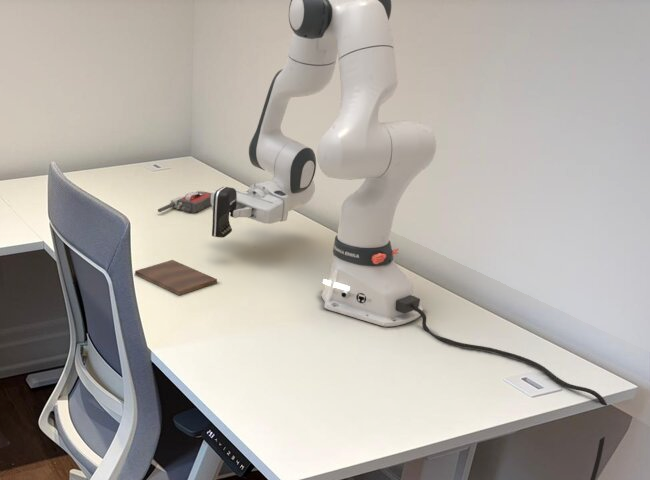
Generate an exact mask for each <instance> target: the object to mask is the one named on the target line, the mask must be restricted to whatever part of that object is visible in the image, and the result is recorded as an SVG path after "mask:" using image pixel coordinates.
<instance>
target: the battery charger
mask: <svg viewBox="0 0 650 480" xmlns="http://www.w3.org/2000/svg"><path fill="white" fill-rule="evenodd" d="M234 188H235V187H229V186H221V187H219V188H218V189H216V190H217V191H216V192H215V194H214V202H213V210H212V228H211V229H212V230H211V236H212V237H213V238H220V239H221V238H225V237H227V236H228V235H230V234H231V233H232V232H233V229H232V226H231V224H230V223H231V222H230V211H231V210H232V209H235V208H236V203H237V193H236V190H235V189H234Z"/></svg>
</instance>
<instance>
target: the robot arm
mask: <svg viewBox="0 0 650 480" xmlns="http://www.w3.org/2000/svg"><path fill="white" fill-rule="evenodd" d="M391 14H392V0H290V2H289V6H288V22H289V26H290V28H291V30H292V36H291V40H290V44H289V48H288V55H287V59H286V62H285V64H284V67H283V68H282V69H280V70H278V71H277V72H276V73H275V75H274V76H273V78H272V81H271V83H270V85H269V88H268V91H267V94H266V98H265V101H264V104H263V107H262V111H261V114H260V117H259V120H258V123H257V127H256V130H255V132H254V134H253V136H252V138H251V140H250V143H249V147H248V157H249V161H250V163H251V164H252V166H253V167H255V168H258V169H260V170H262V171H266V172H267V173H270V174H272V175H273V176H272V178H271V179H269V180H265V181H261V182H257V183H253V184H252V185H250V186H249V188H248V189H247V191H246V190H243V189H239V188H236V187H233V188H234V189H235V190H236V193H237V203H236V208H235V209H232V210H231V211H230V212H229V217H230V218H233V219H237V218H238V219H239V218H248V219H251V220H253V221H257V222H259V223H262V224H268V225H269V224H275V223H278V222H287V220H288V216H289V212H292V211H294V210H297V209H299V208H301V207H303V206H305V205H306V204H308V203H309V202H311V200H312V198H313V197H314V194H315V191H316V184H315V181H314V177H315V174H316V169H317V164H318V167H319V168H320V170H321V172H322V173H323V175H325V176H326V177H328V178H331V179H338V180H345V181H354V180H364V181H363V182H362V184H361V185H360V186H359V188H357V189H356V190H355V191H353V193H351V194H349V195H348V196H347V197H346V198H345V199H344V201H343V202H342V205H341V207H340V214H339V222H338V227H337V228H338V229H337V235H336V236H335V237H334V242H333V248H332V254H333V258H332V263H331V268H330V272H329V275H328V278H327V279H325V278H323V281H322V284H324V285H325V286H324V289H323V290H322V293H321V299H322V300H323V302H324V305H323V308H324V309H325V310H328V311H332V312H334V313H339V314H341V315H345V316H348V317H351V318H354V319H358V320H361V321H364V322H367V323H371V324H374V325H378V326H380V327H387V328H389V327H398V326H401V325H405V324H409V323H410V322H413V321H415V320H417V319H419V317H421V318H422V319H421V325H422V328H423V330H424V331H425V332H426V333H428V334H429V335H430V336H432V337H433V338H435V340H438V341H441V342H444V343H447V344H450V345H454V346H457V347H460V348H467V349H473V350H479V351H486V352H490V353H493V354H498V355H502V356H505V357H509V358H512V359H516V360H519V361H521V362H524V363H526V364H529V365H530V366H533V367H535V368H537V369H539V370H540V371H542V372H543V373H545V375H547V376H548V377H549V378H551V379H552V380H553V381H554V382H556V383H557V384H559V385H561V386H563V387H565V388H568V389H571V390H575V391H580V392H583V393H587V394H590V395H592V396H593V397H595V399H597V400H598V401H599V403H600V404H601V405H603V406H608V404H607V401H606V399H605V398H604V397H603V396H602V395H601V394H600V393H598V392H597V391H595V390H594V389H591V388H587V387H584V386H580V385H575V384H571V383H569V382H566V381H564V380H563V379H561V378H559V377H558V376H556V375H555V374H554V373H553V372H551V371H550V370H549V369H547V368H546V367H545V366H543V365H542V364H540V363H538V362H536V361H534V360H531V359H530V358H527V357H525V356H521V355H518V354H516V353H512V352H509V351H505V350H502V349H501V350H500V349H497V348H494V347H489V346H488V347H487V346H483V345H477V344H471V343H464V342H459V341H456V340H454V339H450V338H447V337H443V336H440V335H437V334H435V333H433V332H432V331H431V330H430V329H429V327H428V326H427V315H426V314H425V313H424V311H423V306H422V305H420V303H421V298H419V297H416V296H415V289H414V284H413V283H412V281H410V279H409V278H408V276H406V274H405V273H404V272H403V271H402V269H401V268H400V267H399V266H398V264H397V263H396V262H395V261H394V256H395V255H397V254H399V250H400V248H395V249H393V248H392V243H391V241H390V237H391V232H392V227H393V222H394V218H395V213H396V210H397V207H398V205H399V203H400V200H401V199H402V197H403V194H404V193H405V191H406V190H407V188H408V187H409V185H410V184H411V183H412V181H414V179H415V178H416V177H417V176H418V175H419V174H420V173H421V172H422V171H424V170H425V169H427V168H428V167H429V166H430V164H431V163H432V161H433V160H434V157H435V155H436V150H437V140H436V136H435V134H434V132H433V130H432V128H431V127H430V126H429V125H428V124H425V123H423V122H422V123H421V122H417V121H409V120H395V121H383V122H380V121H379V110H380V108H381V106H382V105H384V104H385V103H386V102H388V100H389V99H391V98H392V96H393V95H394V94H395V92H396V90H397V87H398V83H399V82H398V74H397V64H396V55H395V54H396V53H395V48H394V47H395V46H394V40H393V33H392V29H391V25H390V21H389V20H390V18H391ZM337 59H338V68H339V80H340V103H339V104H340V105H339V109H338V113H337V115H336V117H335V120H334V122H333V124H332V125H331V126H330V128H329V129H328V130H327V131H325V133H323V135H322V137H321V138H320V141H319V142H318V145H317V149H316V154H315V152H314V150H313V148H311V147H309V146H308V145H305V144H303V143H301V142H299V141H297V140H294V139H292V138H290V137H289V136H286V135H285V134H284V133H283V132H282V129H281V126H282V123H283V120H284V116H285V114H286V111H287V108H288V104H289V103H290V101H291V99H292V98H303V97H308V96H313V95H315V94H318V93H321V91H323V90H324V89H325V88H327V87H328V85H329V84H330V83H331V80H332V79H333V76H334V73H335V69H336V63H337ZM217 190H218V189H214V190H212V191H211V192H210V193H211V205H210V206H212V208H211V209H212V211H213V202H214V194H215V192H216V191H217ZM605 439H606V436H603V437H601V438H600V439H599V440H598V441H599V442H598V446H597V451H596V452H597V453H596V457H595V461H594V465H593V469H592V472H591V476H590V480H596V479H597V474H598V471H599V468H600V463H601V459H602V455H603V450H604V445H605Z"/></svg>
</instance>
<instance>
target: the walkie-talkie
mask: <svg viewBox="0 0 650 480" xmlns="http://www.w3.org/2000/svg"><path fill="white" fill-rule="evenodd" d="M211 193H212V192H209V191H204V190H197V191H191V192H189V193H187V194H185V196H178V197H176V198H174V199H171V200H170V203H169V204H166V205H164V206H162V207H160V208H158V209H157V212H158V213H162V212H165V211H167V210H168V209H171V208H175V209H176V210H178V211H182V212H186V213H191V214H195V213H197V212H199V211H202V210H204V209H206V208H208V207H211V206H212V205H211Z"/></svg>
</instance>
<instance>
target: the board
mask: <svg viewBox="0 0 650 480" xmlns="http://www.w3.org/2000/svg"><path fill="white" fill-rule="evenodd" d="M134 275H135V276H137V277H139V278H142V279H143V280H145V281H147V282H150V283H152V284H154V285H156V286H158V287H160V288H162V289H164V290H167V291H169V292H171V293H172V294H175V295H177V296H182V295H185V294H187V293H191V292H194V291H197V290H199V289H203V288H206V287H209V286H211V285H215V284H217V283H218V278H215V277H213V276H211V275H209V274H206V273H205V272H202V271H199V270H197V269H196V268H192V267H190V266H188V265H185V264H183V263H181V262H178V261H176V260H174V259H170V260H167V261H164V262H160V263H157V264H153V265H150V266H146V267H144V268H140V269H138V270H135V271H134Z"/></svg>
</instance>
